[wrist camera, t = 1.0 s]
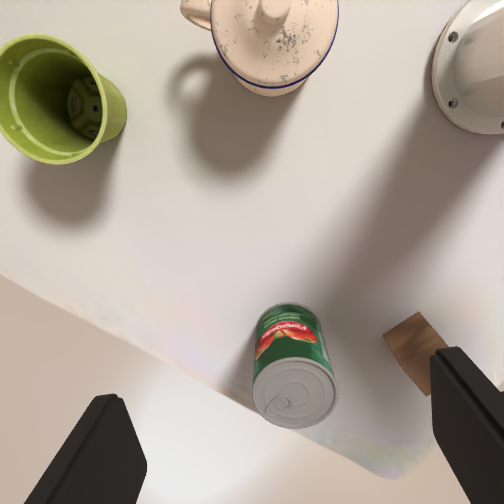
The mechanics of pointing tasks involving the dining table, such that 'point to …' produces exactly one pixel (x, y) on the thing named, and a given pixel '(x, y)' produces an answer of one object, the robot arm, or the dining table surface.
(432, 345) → the walnut block
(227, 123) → the dining table surface
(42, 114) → the plant pot
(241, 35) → the teacup with lid
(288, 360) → the canned tomato
